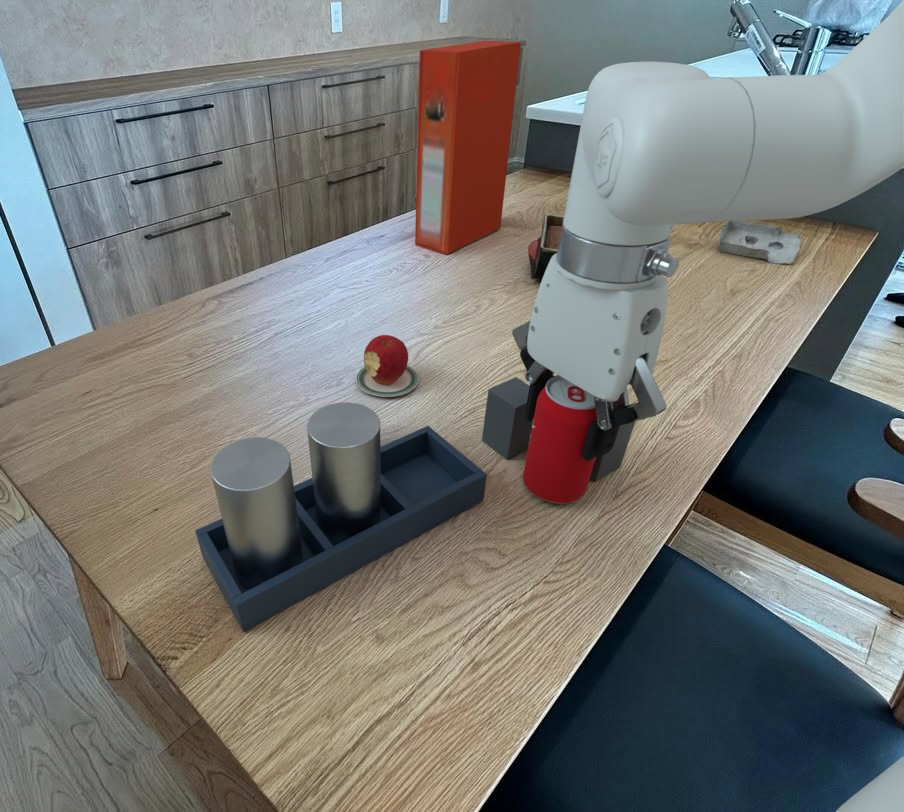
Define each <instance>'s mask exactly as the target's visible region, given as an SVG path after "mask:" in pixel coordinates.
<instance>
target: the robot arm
mask: <svg viewBox="0 0 904 812" xmlns="http://www.w3.org/2000/svg"><path fill="white" fill-rule="evenodd" d="M902 169H904V0H902V1H901V2H900V3H899V4H898V5H897V6H896V7H895V8H894V10H893V11H891V13H890V14H889V15H888V16H887V17H886V18H884V20H883V21H882V22H880V23H879V24H878V25H877V26H876V27H875V28H873V30H872V31H871V32H870V33H868V34H867V36H865V38H863V39H862V40H861V41H860V42H859V43H858V44H857V45H856V46H854V47H853V48H852V49H851V50H850V51H848V52H847V54H846V55H844V56H843V57H842V58H841V59H840V60H839V61H837V62H836V63H835V64H833V65H832V66H831V67H829V68H827V69H825V71H824V72H822V73H821V72H820V74H783V75H782V74H781V75H761V76H760V75H759V76H758V75H757V76H733V77H729V76H728V77H721V78H719V77H718V78H711V77H710V75H709V74H708V73H707V71H705V70H703V69H702V68H700V67H697V66H695V65H690V64H685V63H677V62H667V61H631V62H630V61H629V62H620V63H615V64H611V65H609V66H606V67H604V68H603V69H601V70H600V71H598V72H597V74H596V75H594V77H593V79H591V82H590V84H589V86H588V89H587V93H586V97H585V101H584V106H583V112H582V117H581V122H580V127H579V133H578V138H577V143H576V150H575V155H574V161H573V166H572V171H571V177H570V183H569V187H568V192H567V197H566V204H565V209H564V214H563V216H564V219H563V224H562V230H561V235H560V241H559V246H558V251H557V253H556V254H555V255H553V256H552V258H551V260H550V262H549V264H548V266H547V268H546V271H545V273H544V276H543V277H542V279H541V282H540V284H539V288H538V291H537V294H536V297H535V300H534V305H533V309H532V312H531V317H530V320H528V321H526V322H524V323H523V324H521V325H519V326H517V327H514V329H512V331H511V333H512V337H513V339H514V342H515V344H516V346H517V348H518V350H520V351H519V357H520V359H521V361H522V363H523V365H524V367H525V370H526V372H525V374H524V379H525V382H527V384H528V385H529V386H530V387H529V392H528V398H527V406H526V412H525V419H527V420H528V421H533V419H534V414H535V408H536V403H537V398H538V396H539V394H540V392H541V391H542V390H543V388H544V387H545V386H546V384H547V382H548V381H549V380H550V379H551V378H552V377H554V376H555V375H554V374H556V375H559V376H561V377H563V378H564V379H566V380H568V381H569V382H571V383H573V384H574V385H576V386H578V387H580V388H581V389H583V390H585V391H587V392H588V393H590V394H592V395H594V402H595V410H596V418H597V421H595V422H593V423H591V424H590V426H589V429H588V432H587V436H586V440H585V444H584V447H583V451H582V458H583V459H585V460H586V461H590V460H592V459H594V458H595V457H597V456H599V455H601V454H602V455H605V454H607V453H608V452H610V451H611V449H612V448H613V446H614V443H615V440H616V437H617V433H618V430H619V427H620V425H624V424H628V423H631V422H633V421H635V422H636V421H642V420H646V419H649V418H653V417H655V416H658V415H660V414H661V413H663V412H665V411H666V410H667V403H666V401H665V398H664V397H663V394H662V392H661V391H660V389H659V386H658V385H657V382H656V380H655V377H654V376H653V373H654V370H655V366H656V363H657V359H658V355H659V350H660V348H661V342H662V338H663V332H664V326H665V321H666V314H667V307H668V305H667V304H668V287H669V286H668V285H669V284H668V283H669V280H668V278H671V277H672V276H674V275H675V273H676V272H677V270H678V269H679V265H680V260H679V259H678V258H676V257H674V256H673V257H672V256H671V254H670V253H668V251H669V248H670V245H671V239H670V237H671V234H672V231H673V226H675V225H692V224H705V223H718V222H729V221H758V220H759V221H762V220H787V219H798V218H802V217H807V216H811V215H815V214H818V213H821V212H824V211H827V210H829V209H830V210H831V209H832V208H835V207H837V206H840V205H841V204H843V203H845V202H847V201H849V200H851V199H854V198H855V197H858V196H859V195H861V194H863V193H864V192H867V191H868V190H871V188H873V187H875V186H876V185H878V184H880V183H881V182H883V181H885V180H886V179H888V178H890V177H891V176H893V175H894V174H896V173H897V172H899V171H900V170H902ZM628 386H631V388H632V390H633V392H634V394H635V396H636V399H637V402H635V403H631V404H630V399H629V393H628ZM611 402H613V410H612V409H611ZM835 812H904V755H903V756H902V757H900V758H899V759H898V760H896V761H895V762H893V764H891V765H890V766H888V768H886V769H885V770H884V771H883V772H881V773H880V774H879V775H877V776H876V777H875V778H874V779H872V780H871V781H870V782H868V783H867V784H866V785H864V786H863V787H862V788H860V790H858V791H857V792H855V794H853V795H852V796H850V798H848V799H847V800H846V801H845V802H844V803H842V804H841V805H840V806H839V807H838V808H837V809H836V811H835Z"/></svg>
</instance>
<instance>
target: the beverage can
mask: <svg viewBox="0 0 904 812" xmlns="http://www.w3.org/2000/svg"><path fill="white" fill-rule="evenodd" d="M553 376H554V377H552V378H551V379H550V380H549V381H548V382H547V384H546V386H545V387H544V388H543V390H542V391H541V392H540V394H539V396H538V398H537V403H536V408H535V414H534V419H533V424H532V429H531V435H530V440H529V445H528V449H527V450H526V451H527V452H526V455H525V462H524V467H523V472H522V481H523V485H524V486H525V487H526V489H527V490H528V491H529V492H530V493H531V494H532V495H534V496H535V497H537V498H539V500H542V501H546V502H548V503H552V504H561V505H562V504H571V503H574V502H576V501H579V500H581V498H582V497H584V495H585V494H586V493H587V489H588V486H589V482H590V480H591V478H590V476H591V472H592V469H593V465H594V461H595V458H596V457H595V458H594V459H592V460H590V461H586V460H585V459H583V458H582V451H583V447H584V444H585V440H586V436H587V432H588V429H589V426H590V424H591V423H593V422H595V421H597V418H596V410H595V402H594V395H592V394H590V393H588V392H587V391H585V390H583V389H581V388H580V387H578V386H576V385H574V384H573V383H571V382H569V381H568V380H566V379H564V378H563V377H561V376H559V375H558V374H556V375H553Z"/></svg>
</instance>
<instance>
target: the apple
mask: <svg viewBox="0 0 904 812" xmlns="http://www.w3.org/2000/svg"><path fill="white" fill-rule="evenodd" d="M408 362H409V351H408V348H407V346H406V344H405V343H404V342H403V340H401V339H399V338H397V337H395V336H393V335H389V334H381V335H377V336H376V337H375V336H374V337H373V338H372V339H371V340H370V341H369V342H368V344H367V345H366V347H365V349H364V352H363V365H364V366H363V367H361V368H360V369H359V370H358V372H357V374H356V375H355V383H356V385H357V386H358V388H359V389H361V391H363V392H364V393H366V394H369V395H371V396H374V397H381V398H394V397H399V396H404V395H406V394H408V393H410V392H412V391H413V390H414V389H416V387H417V386H418V384H419V379H420V378H419V375H418V372H417V370H415V369H414V368H413V367H412V366H410V365H408Z"/></svg>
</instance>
